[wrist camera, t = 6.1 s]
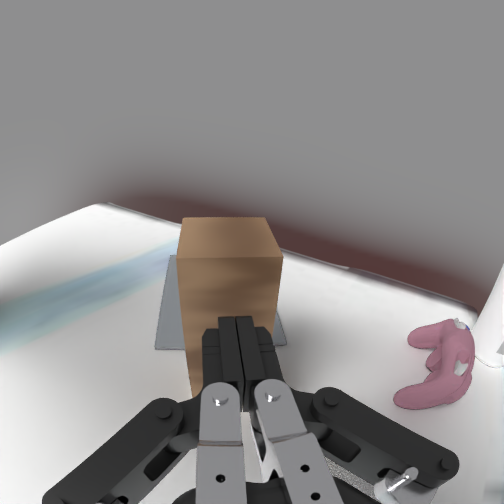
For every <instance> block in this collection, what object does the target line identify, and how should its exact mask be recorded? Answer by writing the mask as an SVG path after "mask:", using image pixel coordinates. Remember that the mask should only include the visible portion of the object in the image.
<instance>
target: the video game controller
mask: <svg viewBox="0 0 504 504" xmlns="http://www.w3.org/2000/svg"><path fill="white" fill-rule="evenodd" d="M469 330H470V329H469V328H468V327H467V325H465V324H464V323H463V322H459V320H458V318H456V319H454V320H453V319H447V320H444V321H442V322H439V323H436V324H432V325H427V326H423V327H419V328H417V329H415V330H413V331H412V332H411V333H410V334H409V336H408V343H409V344H410V345H411V346H413V347H416V348H436V349H435V350H434V351H433V352H432V353H431V354H430V356H429V357H428V359H427V361H426V366H427V367H428V368H429V369H430V370H431V371H432V373H431V374H430V375H428V377H427V378H426V379H425V381H424V383H421V384H416V385H411V386H408V387H405V388H403V389H401V390H399V391H398V392H397V393H396V394H395V395H394V403H395V404H396V405H398V406H400V407H402V408H406V409H424V408H430V407H433V406H437V405H440V404H443V403H445V404H451V403H453V402H455V401H457V400H459V399H460V398H461V397H462V396H463V395H464V394H465V393H466V391H467V390H468V388H469V386H470V384H471V380H472V375H471V372H472V369H473V365H474V360H475V343H474V339H473V336H472V334H471V332H470V331H469Z"/></svg>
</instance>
